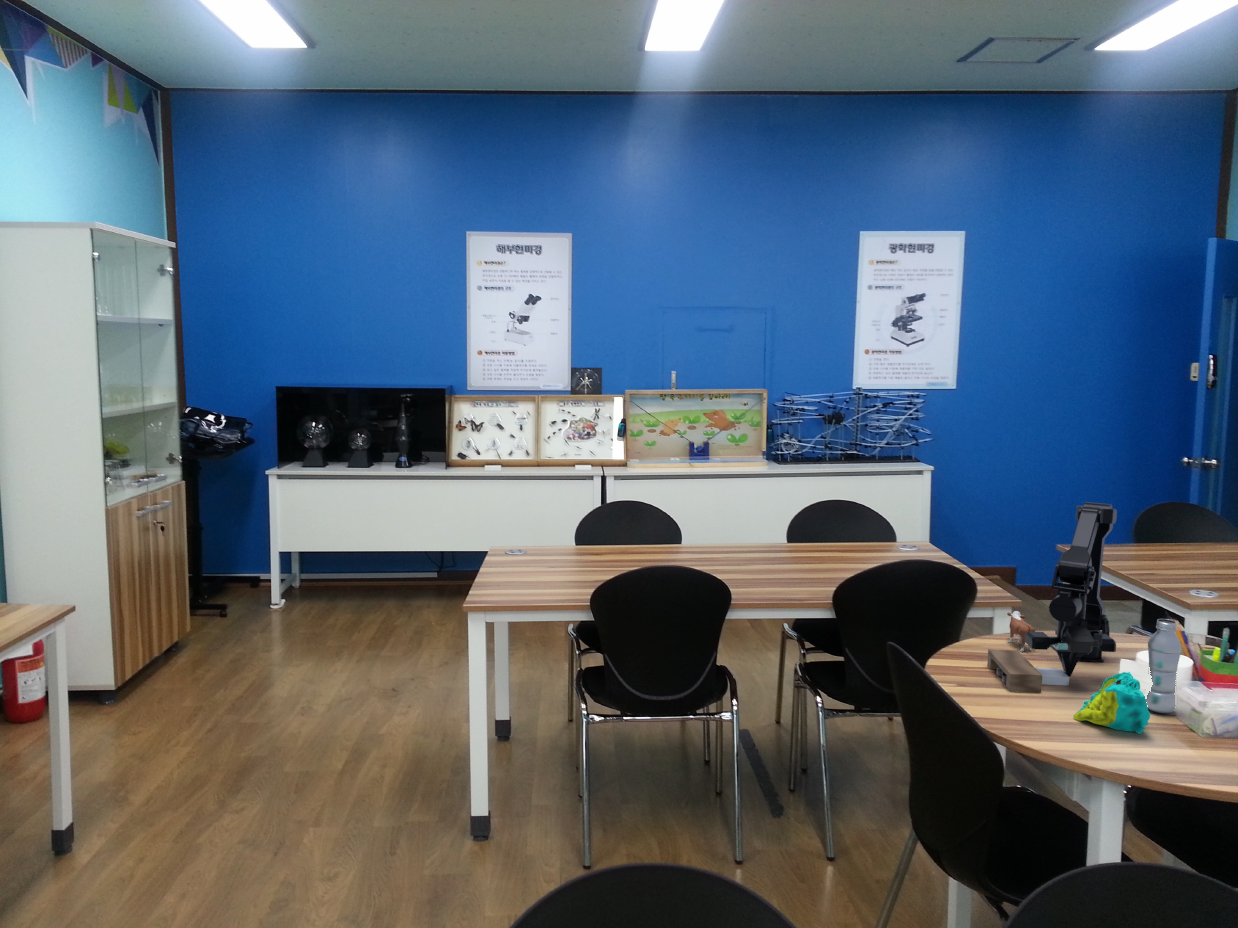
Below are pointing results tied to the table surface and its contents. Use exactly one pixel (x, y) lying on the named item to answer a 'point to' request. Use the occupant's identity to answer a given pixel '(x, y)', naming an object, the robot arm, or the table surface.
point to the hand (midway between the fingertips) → (1067, 676)
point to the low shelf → (1015, 671)
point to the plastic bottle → (1163, 666)
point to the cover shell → (1053, 676)
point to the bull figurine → (1019, 628)
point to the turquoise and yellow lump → (1117, 705)
